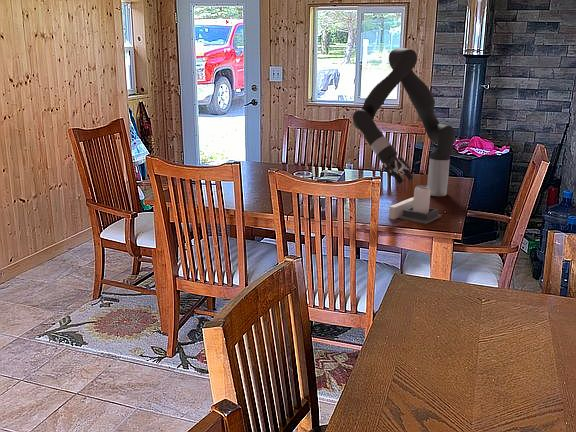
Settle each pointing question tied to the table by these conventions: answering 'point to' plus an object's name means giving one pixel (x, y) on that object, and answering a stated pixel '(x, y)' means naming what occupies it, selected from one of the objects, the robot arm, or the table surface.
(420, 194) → the can
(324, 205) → the drinking glass
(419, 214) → the keeper
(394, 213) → the door edge
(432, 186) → the robot arm
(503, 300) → the table surface
